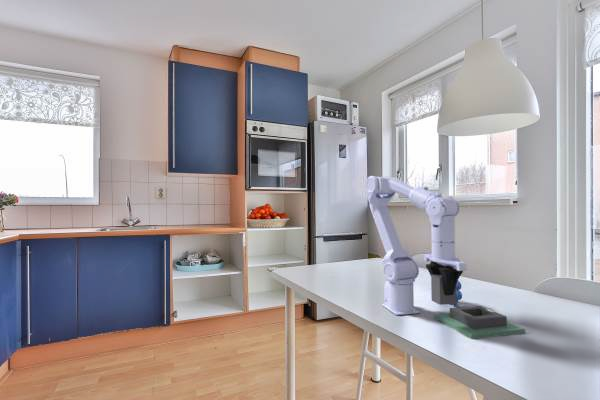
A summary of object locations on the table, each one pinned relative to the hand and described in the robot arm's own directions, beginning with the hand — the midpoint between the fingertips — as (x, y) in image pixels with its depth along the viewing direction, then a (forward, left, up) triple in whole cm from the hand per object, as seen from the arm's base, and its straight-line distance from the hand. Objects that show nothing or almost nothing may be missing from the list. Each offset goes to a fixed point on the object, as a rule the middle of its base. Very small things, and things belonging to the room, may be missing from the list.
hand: (444, 292), depth 80 cm
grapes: (-18, +14, -10) cm, 25 cm away
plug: (0, 0, -2) cm, 3 cm away
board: (0, +10, -9) cm, 14 cm away
